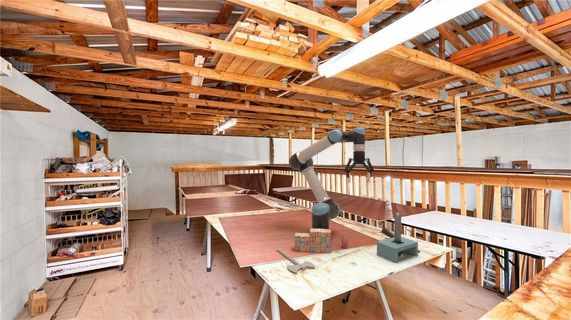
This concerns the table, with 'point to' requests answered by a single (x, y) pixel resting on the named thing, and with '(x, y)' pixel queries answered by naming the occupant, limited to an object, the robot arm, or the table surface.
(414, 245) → the bridge
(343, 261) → the table surface
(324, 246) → the stack of blocks
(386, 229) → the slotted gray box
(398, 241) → the long pin
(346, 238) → the short pin
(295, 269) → the axe
